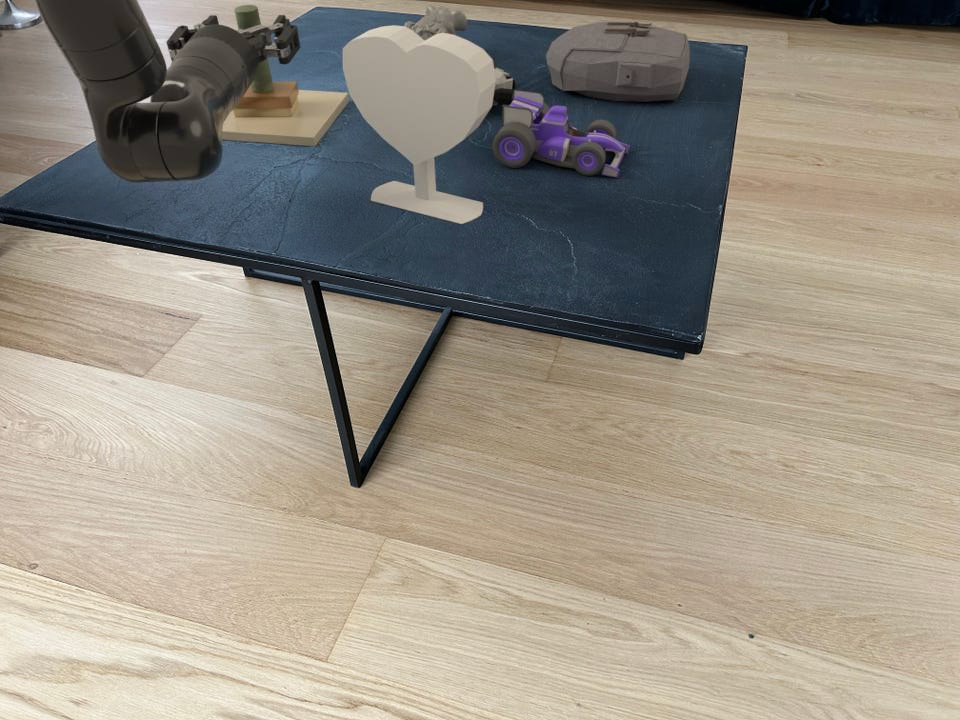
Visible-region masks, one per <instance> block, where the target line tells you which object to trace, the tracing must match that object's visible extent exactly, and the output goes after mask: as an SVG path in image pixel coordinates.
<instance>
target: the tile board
mask: <svg viewBox="0 0 960 720" xmlns="http://www.w3.org/2000/svg"><path fill="white" fill-rule="evenodd" d="M298 91H299V94H298V101H299V102H298V105H297V107H296V109H295V111H294V113H293V116H292V117H235V116H234V112H233V111H231V112H230V113H229V115H228V117H227V118H226V120H225V121H224V123H223V129H222V141H235V142H248V143H249V142H251V143H262V144H263V143H264V144H275V145H290V146H291V145H292V146H303V147H316V146H317V145H318V143H319V142H321V139H322V138H323V137H324V135H326V133H327V132H328V130H329V129H330V128H331V126H332V125H333V124H334V122H336V119H337V118H338V117H339V116H340V114H341V113H342V112H343V110H344V109H345V108H346V107H347V105H348V104H349V102H350V94H349V92H340V91H326V90H325V91H322V90H310V89H309V90H307V89H306V90H305V89H298Z"/></svg>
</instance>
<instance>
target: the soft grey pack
mask: <svg viewBox="0 0 960 720" xmlns="http://www.w3.org/2000/svg"><path fill="white" fill-rule="evenodd" d="M652 25H653V23H652V22H650V23H640V22H637V21H634V22H632V21H597V22H593V23H586V24H582V25H577V26H573V27H571V28H570V29H568V30H567V31H565V32H564V33H562V34H561V35H559V36H558V37H556V39H554V40H553V41H551V44H550V46H549V48H548V50H547V52H546V54H545V58H546V65H547V67H548V71H549V74H550V77H551V84H552V85H553V86H555V87H556V88H558V89H560V90H561V91H563V92H572V93H576V94H578V95H582V96H585V97H588V98H594V99H602V100H605V101H615V102H640V103H641V102H643V103H646V102H647V103H648V102H659V101H675V100H677V99H678V98H679V96H680V94H681V92H682V90H683V89H684V86H685V83H686V79H687V76H688V72H689V68H690V58H691V51H690V50H691V49H690V42H689V38H688V35H687V34H686V33H684V32H679V31H676V30H671V29H667V28H663V27H660V26H654V25H653V26H652Z"/></svg>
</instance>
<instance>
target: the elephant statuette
mask: <svg viewBox="0 0 960 720" xmlns="http://www.w3.org/2000/svg"><path fill="white" fill-rule="evenodd" d="M403 26H404V27H407V28H409V29H411V30H412V31H414V32H415V33H416V34H417V35H419V36H420V37H421V38H422V39H423V40H424V41H425V40H427V39H429V38H430V37H432V36H434V35H436V34H440V33H447V34H452V35H456V36H457V32H465V31H466V28H467V27H468V18H467V16H466V13H464V11H463V10H460V9H454V10H451V9H449V8H446V7H435V6H433V5H431V4H428V5H427V6H426V10H425V15H424V16H422V17H421V19H419V20H418V21H417V22H413V21H411V20H408V21H406V22H405V23H404V25H403ZM456 31H457V32H456Z"/></svg>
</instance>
